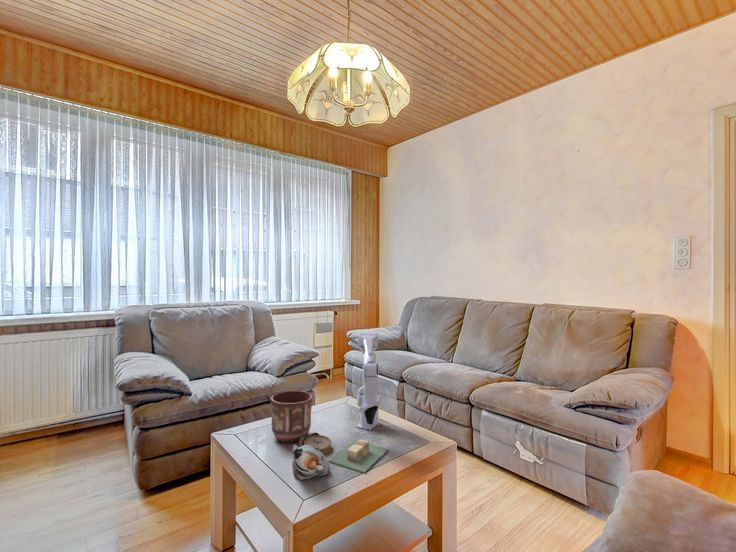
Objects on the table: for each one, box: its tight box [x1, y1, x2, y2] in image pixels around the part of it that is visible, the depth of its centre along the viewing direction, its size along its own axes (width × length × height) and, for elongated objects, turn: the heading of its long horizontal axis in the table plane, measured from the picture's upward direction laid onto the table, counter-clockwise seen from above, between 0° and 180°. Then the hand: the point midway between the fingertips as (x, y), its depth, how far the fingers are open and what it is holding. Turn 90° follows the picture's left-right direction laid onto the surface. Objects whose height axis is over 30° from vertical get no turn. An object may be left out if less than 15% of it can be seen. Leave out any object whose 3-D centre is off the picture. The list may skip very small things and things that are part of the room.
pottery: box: [270, 390, 314, 444], centre depth 159 cm, size 18×18×18 cm
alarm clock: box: [298, 432, 334, 456], centre depth 149 cm, size 11×5×15 cm
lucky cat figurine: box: [291, 444, 331, 481], centre depth 129 cm, size 15×12×14 cm
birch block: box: [347, 438, 370, 462], centre depth 142 cm, size 4×4×10 cm
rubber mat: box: [328, 439, 389, 474], centre depth 143 cm, size 20×16×1 cm
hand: (370, 423), depth 152 cm, fingers closed
